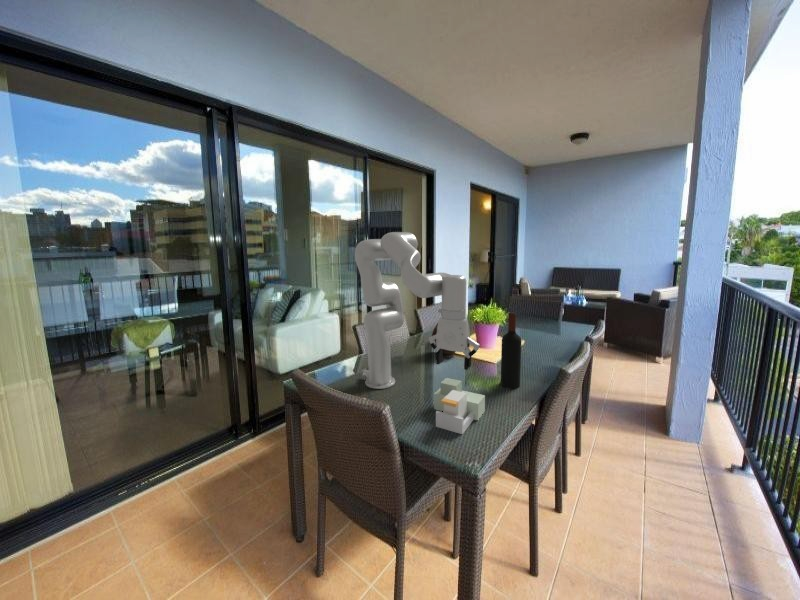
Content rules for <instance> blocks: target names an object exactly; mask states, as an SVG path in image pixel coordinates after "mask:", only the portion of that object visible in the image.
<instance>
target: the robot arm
mask: <svg viewBox="0 0 800 600" xmlns="http://www.w3.org/2000/svg"><path fill="white" fill-rule="evenodd" d="M354 259H355V263H356V266H357V268H358V273H359V275H360V282H361V288H362V289H361V290H362V294H363V295H362V296H363V300H364V303H365V306H368V307H372V308H373V307H381V306H385V308H378V309H372V310H370V311H369V312H367V313H366V314H365V315H364V317H363V326H364V329H365V334H366V345H367V346H366V347H367V364H368V365H367V366H368V367H367V368H368V369H364V370H363V372H362V377H366V380H365V386H366V387H367V388H370V389H375V390H383V389H388V388H390V387H393V386H394V385H395V383H396V379H395V377H393V376H392V361H391V359H392V357H391V341H390V339H389V337H388V336H387V333H386V332H389V331H393V330H397V329H400V328H401V327H402V326H403V325H404V323H405V316H404V315H405V314H404V308H403V302H402V295H401V290H400V288H399V286H398V285H397V284H396V283H395V282H392V281H385V282H384V281H383V277H382V272H381V270H380V268H379V266H378V265H377V264H376V263H375V262H376V261H377V262H378V261H379V262H380V261H391V260H392V261H393V262H394V263H395V264H396V265H397V266H398V267H399V268H400V276H401V280H402V283H403V284H404V286H405V287H406V288H407V289H408V290H409V291H410V292H411V293H412V294H413V295H415V296H416V297H418V298H421V299H428V298H432V297H434V298H435V297H440V296H441V309H440V308H439V309H438V310H437V313H438V314H440V315H441V316H440V317H439V318H438V322H437V323H438V327H437V334H436V335H434V336H432V335H431V336H429V337H428V341H429V344H430V346H431V348H432V349H433V350H434V353H435V361H436V365H440V364H441V363H443V358H444V357H443V351H442V350H441V349H444V350H450V351H456V352H457V353H463V355H464V356H465V357H464V359H463V361H464V364H463V366H464V367H463V370H465V371H467V370H468V369H469V368H470V367H471V366H472V356H474V354H476V353H477V352H478V350H479V349H480V347H481V345H480V343H479V342H477V341H476V340H474V339H472V338H471V337H470V336H471V335H470V324H469V320H468V318H467V302H466V301H467V279H466V277H465V276H463V275H461V274H450V273H446V272H435V273H425V274H424V273H421V272H420V271H419V270H418V269H416V268H417V266H418V265H419V264H420V262H421V253H420V252H419V250H418V239H417V237H416V236H415V235H414V234H413V233H411V232H410V231H392V232H387V233H386V234H384V235H383V236H382V237H381V238H374V239H373V238H372V239H371V238H370V239H364V240H361V241H359V243H357V245H356V246H355V250H354ZM435 339H436V342H435ZM470 346H471V347H472V349H470ZM456 352H455V353H456Z"/></svg>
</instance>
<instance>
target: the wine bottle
mask: <svg viewBox="0 0 800 600" xmlns="http://www.w3.org/2000/svg"><path fill="white" fill-rule="evenodd" d="M507 316H508V323H507V324H508V325H507V327H508V329H507V333H504V334H503V336H502V337H501V351H500V352H501V356H500V358H501V359H500V386H502V387H503V388H505V389H511V390H512V389H514V390H515V389H518V388H520V387H521V367H522V366H521V365H522V337H521V336H520V335H519V334H518V333H517V332H516V331H517V330H516V328H517V327H516V325H517V324H516V322H517V313H516V312H514V311H513V312H508V315H507Z"/></svg>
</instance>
